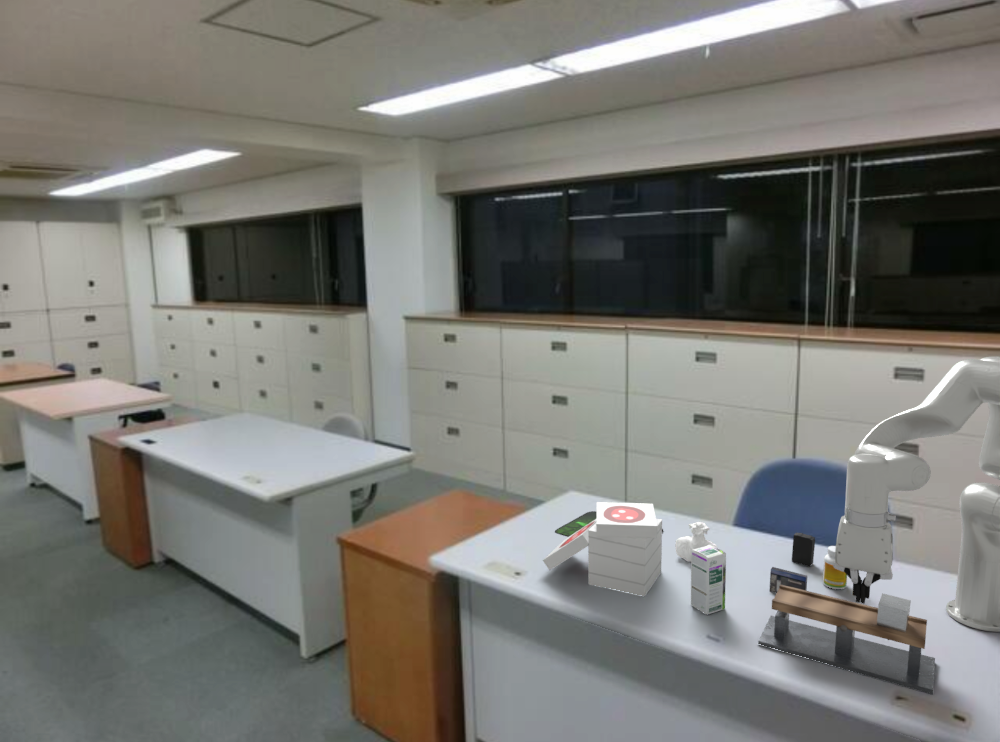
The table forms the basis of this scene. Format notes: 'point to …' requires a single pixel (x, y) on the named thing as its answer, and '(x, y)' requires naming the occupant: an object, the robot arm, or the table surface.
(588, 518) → the mouse mat
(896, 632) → the beam
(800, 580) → the mini dv tape
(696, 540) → the white lumpy figure
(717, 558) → the syrup box
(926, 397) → the robot arm
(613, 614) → the table surface
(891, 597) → the steel cube
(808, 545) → the ink cartridge
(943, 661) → the table surface
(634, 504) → the pizza boxes
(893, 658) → the pivot stand
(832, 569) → the supplement bottle
